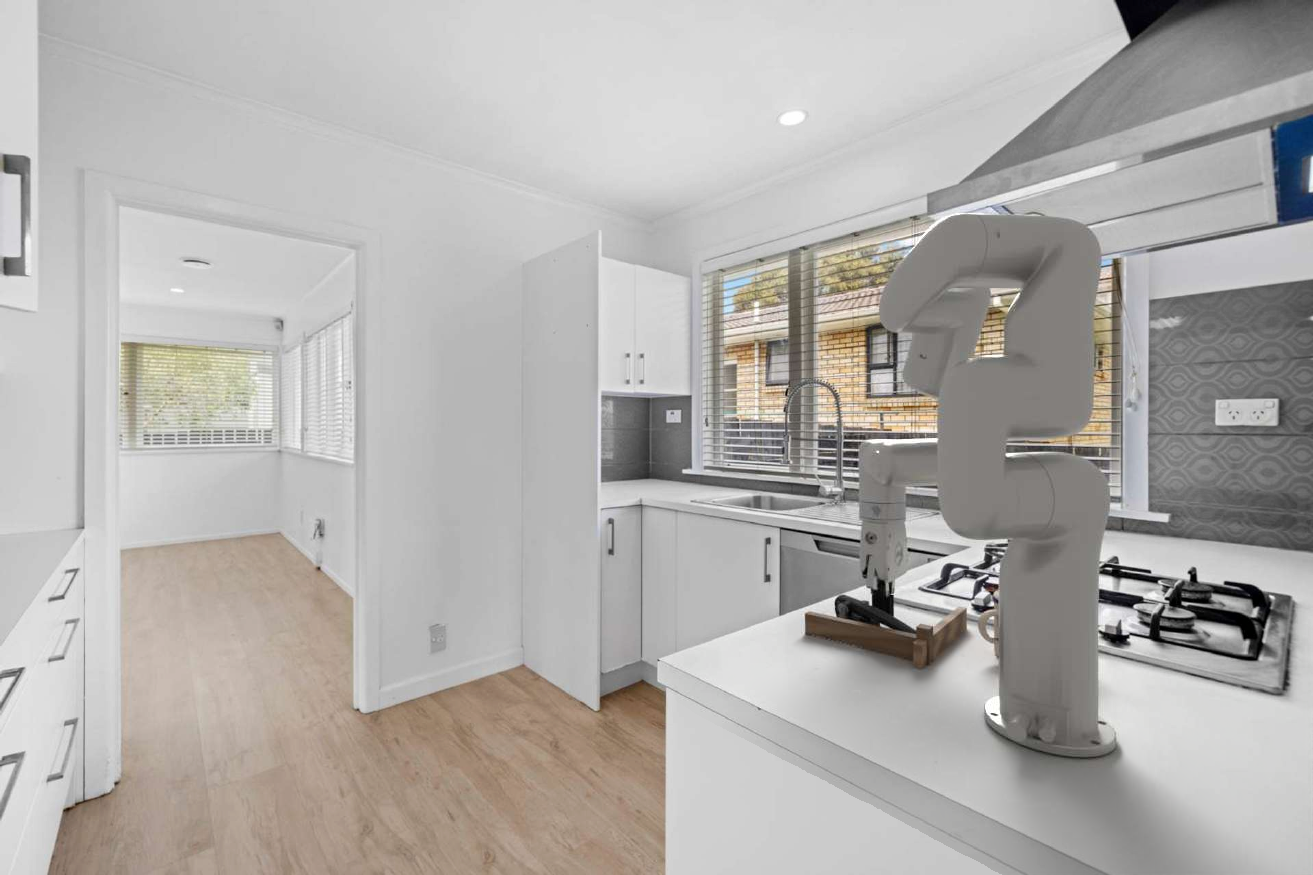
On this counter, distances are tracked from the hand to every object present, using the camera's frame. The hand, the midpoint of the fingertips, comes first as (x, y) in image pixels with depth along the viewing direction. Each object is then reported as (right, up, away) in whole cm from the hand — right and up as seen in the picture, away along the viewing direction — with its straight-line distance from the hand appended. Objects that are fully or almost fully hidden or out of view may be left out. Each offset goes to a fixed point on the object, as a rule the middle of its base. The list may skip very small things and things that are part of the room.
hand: (882, 617), depth 103 cm
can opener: (-3, -2, -5) cm, 6 cm away
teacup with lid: (+15, -2, -15) cm, 21 cm away
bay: (-2, -2, -3) cm, 4 cm away
